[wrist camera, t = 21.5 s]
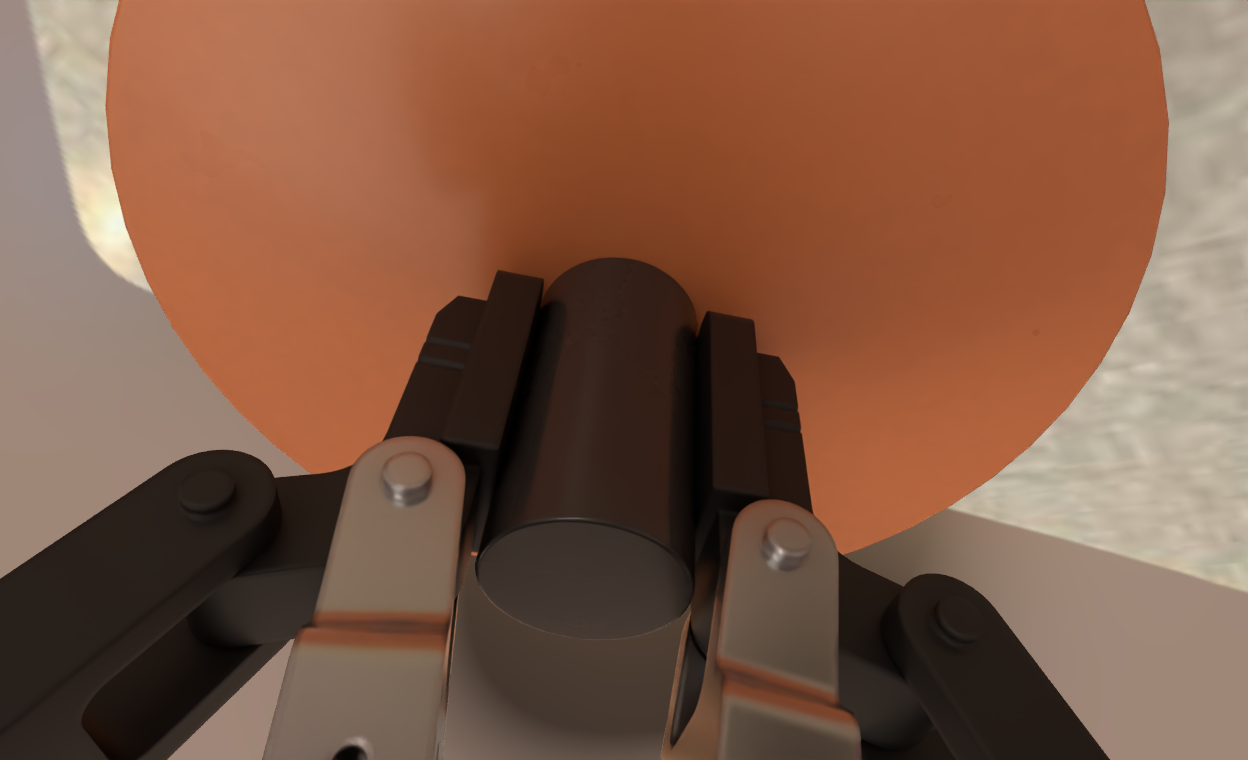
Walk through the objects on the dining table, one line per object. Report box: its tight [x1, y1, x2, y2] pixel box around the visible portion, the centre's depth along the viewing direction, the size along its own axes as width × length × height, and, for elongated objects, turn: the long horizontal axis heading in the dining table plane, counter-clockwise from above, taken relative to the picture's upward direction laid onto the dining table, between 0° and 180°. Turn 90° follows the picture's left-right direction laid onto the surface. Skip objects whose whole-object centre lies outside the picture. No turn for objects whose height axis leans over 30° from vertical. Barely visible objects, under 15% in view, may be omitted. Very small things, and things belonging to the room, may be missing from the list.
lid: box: [106, 0, 1169, 640], centre depth 11 cm, size 16×16×6 cm
